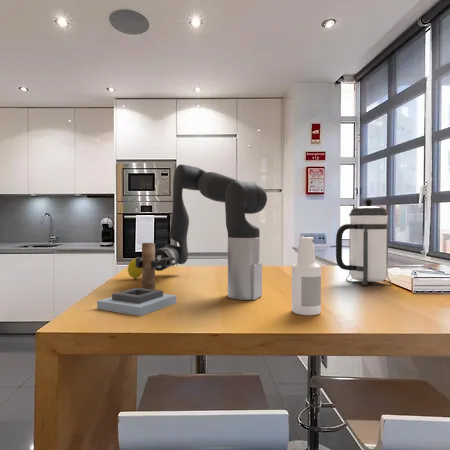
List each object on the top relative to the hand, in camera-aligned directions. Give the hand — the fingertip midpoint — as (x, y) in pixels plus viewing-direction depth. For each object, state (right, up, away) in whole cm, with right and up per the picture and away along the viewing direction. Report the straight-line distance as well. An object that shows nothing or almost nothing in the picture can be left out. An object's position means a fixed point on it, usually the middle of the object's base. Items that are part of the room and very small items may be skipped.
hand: (145, 264), depth 101 cm
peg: (0, -8, +3) cm, 9 cm away
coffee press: (+74, -9, +16) cm, 76 cm away
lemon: (-9, -8, +23) cm, 27 cm away
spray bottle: (+44, -9, -22) cm, 50 cm away
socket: (+2, -9, -16) cm, 18 cm away
